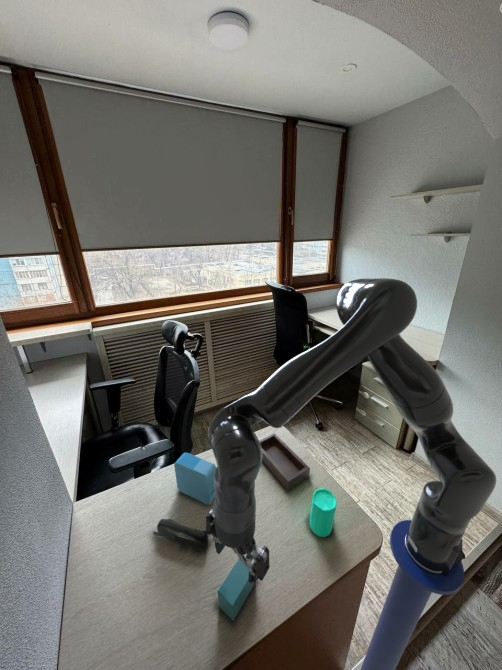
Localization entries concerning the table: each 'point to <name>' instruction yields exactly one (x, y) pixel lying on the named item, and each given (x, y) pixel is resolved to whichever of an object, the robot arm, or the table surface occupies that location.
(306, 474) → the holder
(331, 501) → the candle
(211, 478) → the data package
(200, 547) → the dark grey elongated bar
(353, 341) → the robot arm
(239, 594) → the block
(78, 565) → the table surface
